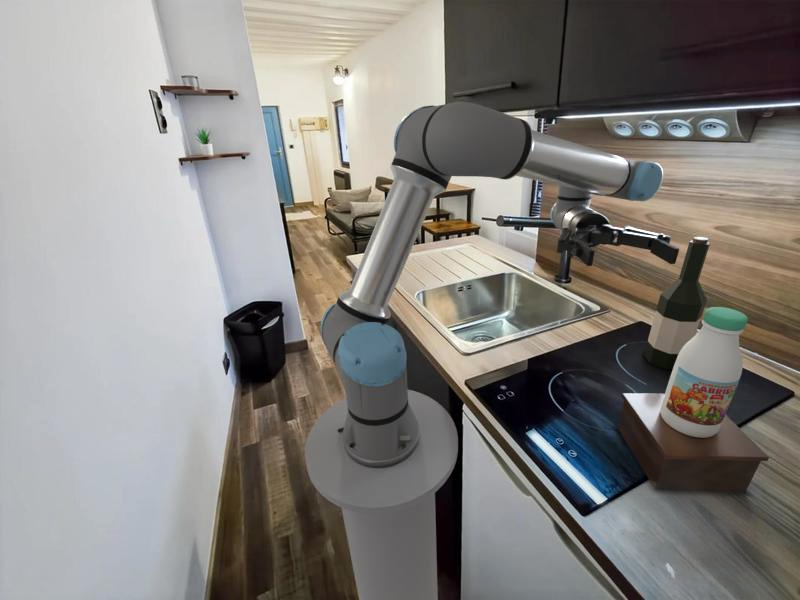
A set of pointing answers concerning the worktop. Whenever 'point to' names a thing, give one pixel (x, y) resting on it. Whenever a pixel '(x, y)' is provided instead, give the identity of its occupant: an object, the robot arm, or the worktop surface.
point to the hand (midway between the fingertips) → (632, 257)
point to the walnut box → (686, 450)
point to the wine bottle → (678, 309)
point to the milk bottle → (705, 375)
